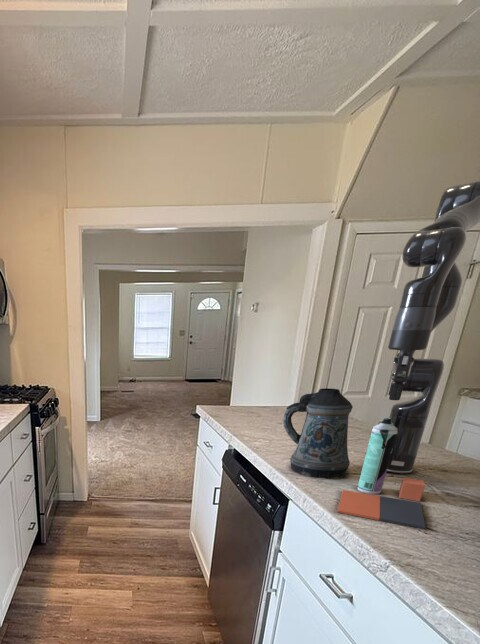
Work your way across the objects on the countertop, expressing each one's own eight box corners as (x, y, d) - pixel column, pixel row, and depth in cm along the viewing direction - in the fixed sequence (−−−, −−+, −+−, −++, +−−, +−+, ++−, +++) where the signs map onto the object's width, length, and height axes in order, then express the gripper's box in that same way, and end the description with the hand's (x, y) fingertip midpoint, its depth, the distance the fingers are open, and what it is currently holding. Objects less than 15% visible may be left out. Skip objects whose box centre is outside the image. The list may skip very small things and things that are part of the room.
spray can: (384, 494, 108) (405, 420, 100) (361, 493, 109) (380, 420, 101) (375, 487, 113) (394, 416, 105) (354, 486, 114) (371, 415, 106)
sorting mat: (342, 491, 110) (343, 489, 110) (419, 504, 101) (420, 502, 101) (337, 512, 98) (337, 510, 97) (424, 529, 89) (425, 526, 89)
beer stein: (358, 478, 119) (380, 393, 110) (293, 479, 120) (308, 394, 110) (329, 462, 135) (346, 385, 125) (271, 462, 135) (283, 386, 125)
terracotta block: (398, 492, 109) (403, 477, 107) (418, 495, 107) (423, 480, 105) (399, 497, 105) (403, 482, 104) (420, 501, 103) (425, 485, 102)
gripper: (435, 328, 88) (413, 403, 94) (429, 328, 98) (410, 395, 105) (393, 328, 91) (375, 400, 98) (392, 328, 102) (376, 393, 109)
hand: (393, 397), depth 101 cm, fingers open, 8 cm apart
